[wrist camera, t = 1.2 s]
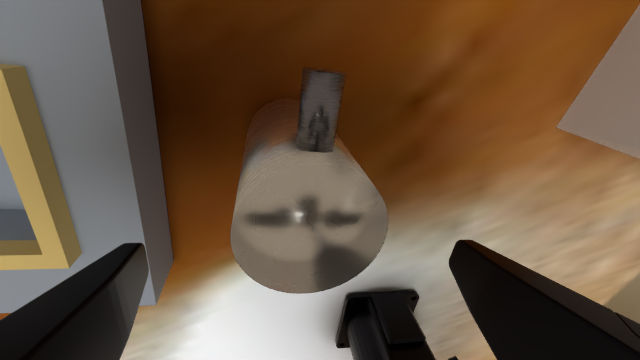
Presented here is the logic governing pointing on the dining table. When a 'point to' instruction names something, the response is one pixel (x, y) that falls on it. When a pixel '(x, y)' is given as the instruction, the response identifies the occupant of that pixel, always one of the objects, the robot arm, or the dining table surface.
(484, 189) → the dining table surface
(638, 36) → the milk
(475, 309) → the robot arm
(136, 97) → the grey flat square piece
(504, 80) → the dining table surface
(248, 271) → the spout can
